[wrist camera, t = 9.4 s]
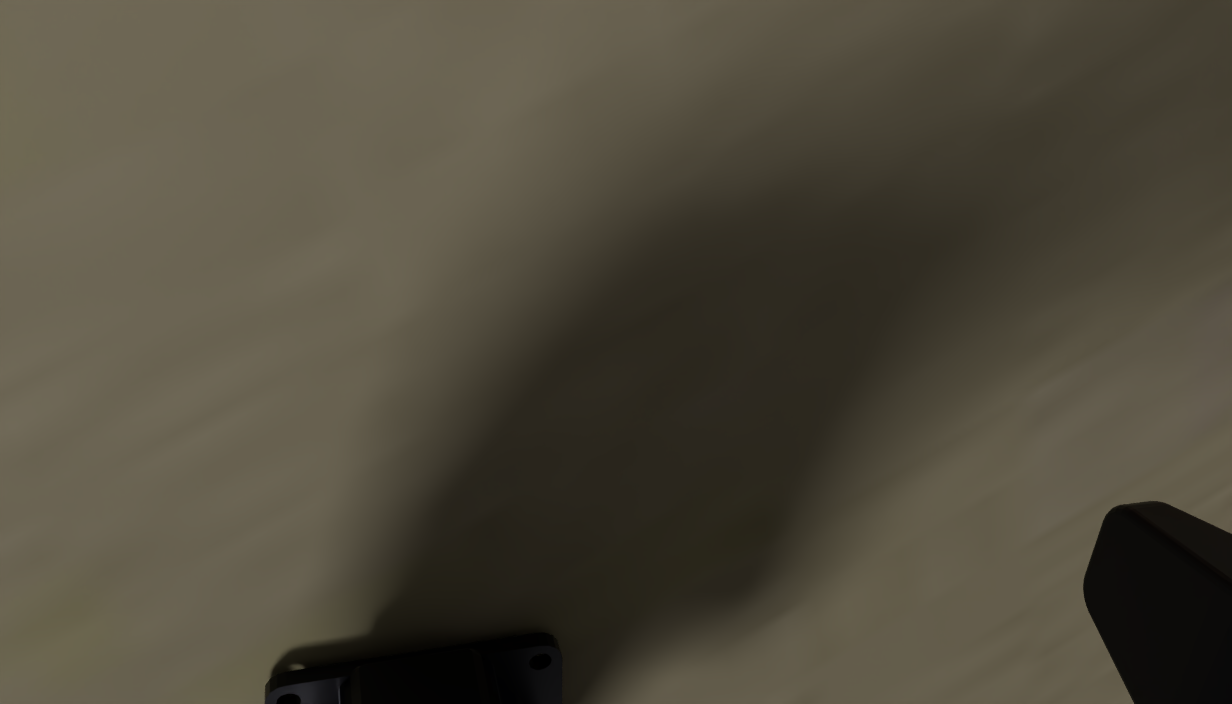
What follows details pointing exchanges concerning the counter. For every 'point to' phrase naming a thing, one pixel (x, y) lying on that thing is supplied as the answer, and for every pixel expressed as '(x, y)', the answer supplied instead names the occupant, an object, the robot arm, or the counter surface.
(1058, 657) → the counter surface
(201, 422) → the counter surface
